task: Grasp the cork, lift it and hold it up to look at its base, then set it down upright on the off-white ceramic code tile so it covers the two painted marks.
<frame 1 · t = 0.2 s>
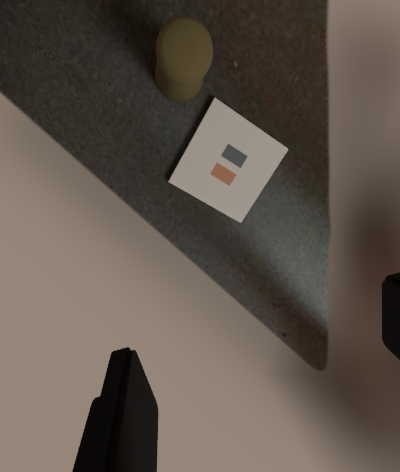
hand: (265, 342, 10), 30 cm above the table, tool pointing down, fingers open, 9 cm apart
code tile: (227, 164, 38), on the table
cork: (179, 75, 34), on the table
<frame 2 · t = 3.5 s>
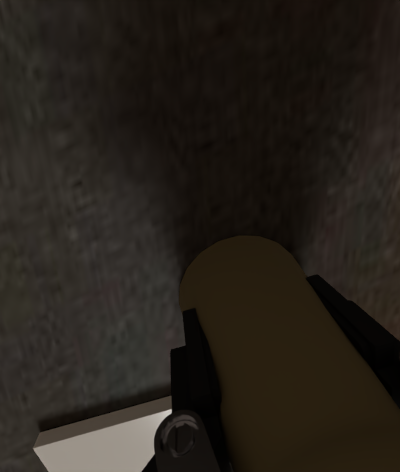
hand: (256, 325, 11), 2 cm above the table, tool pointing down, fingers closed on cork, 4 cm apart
code tile: (178, 470, 17), on the table
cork: (240, 292, 13), on the table, touching gripper
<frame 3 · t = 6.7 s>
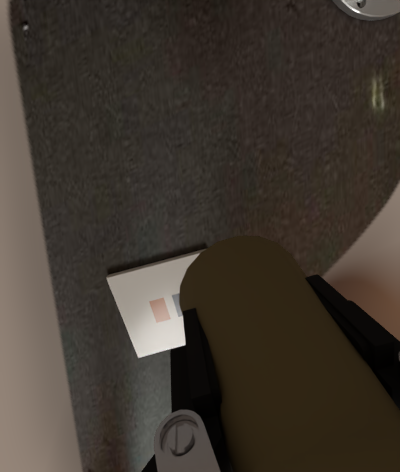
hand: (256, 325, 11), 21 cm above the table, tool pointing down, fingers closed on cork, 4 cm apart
code tile: (171, 303, 34), on the table
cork: (240, 292, 13), point 19 cm above the table, touching gripper
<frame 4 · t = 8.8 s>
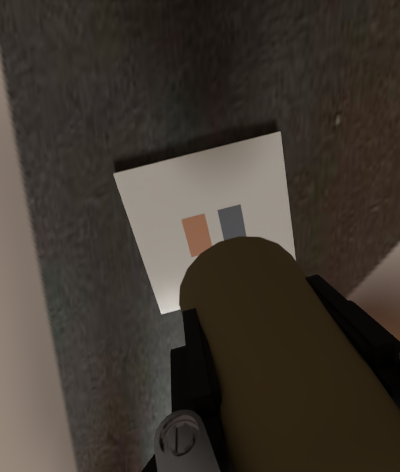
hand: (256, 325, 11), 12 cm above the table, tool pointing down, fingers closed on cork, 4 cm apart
code tile: (213, 228, 22), on the table
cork: (240, 293, 13), point 9 cm above the table, touching gripper
when the fingers open (4 cm above the table, at t = 10.3 s): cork drops 1 cm, resting on code tile.
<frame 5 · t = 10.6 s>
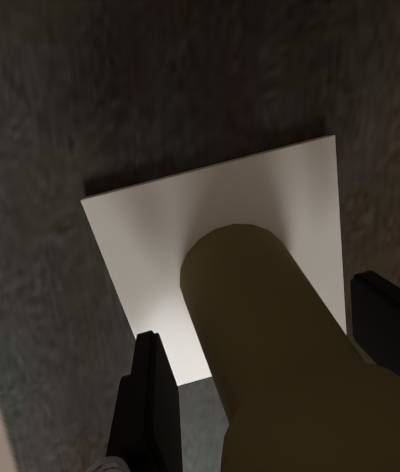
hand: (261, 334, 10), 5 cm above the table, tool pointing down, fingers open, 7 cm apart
code tile: (230, 273, 15), on the table
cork: (235, 276, 15), point 1 cm above the table, touching code tile
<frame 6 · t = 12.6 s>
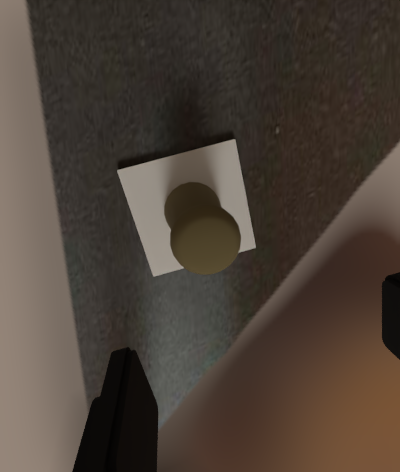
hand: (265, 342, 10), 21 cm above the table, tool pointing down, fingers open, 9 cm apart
code tile: (191, 210, 30), on the table
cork: (192, 210, 29), point 1 cm above the table, touching code tile
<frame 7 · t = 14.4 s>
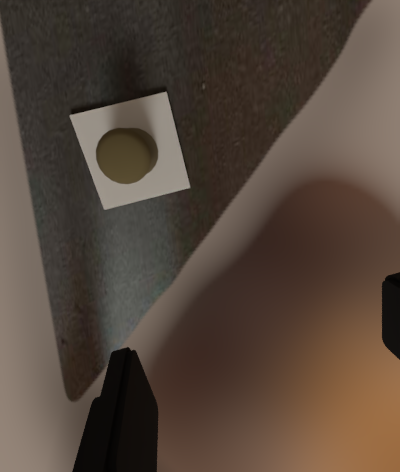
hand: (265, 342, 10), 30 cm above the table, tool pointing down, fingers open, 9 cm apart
code tile: (134, 153, 36), on the table
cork: (134, 152, 35), point 1 cm above the table, touching code tile
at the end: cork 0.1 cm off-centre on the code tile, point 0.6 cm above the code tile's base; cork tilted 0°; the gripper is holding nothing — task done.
